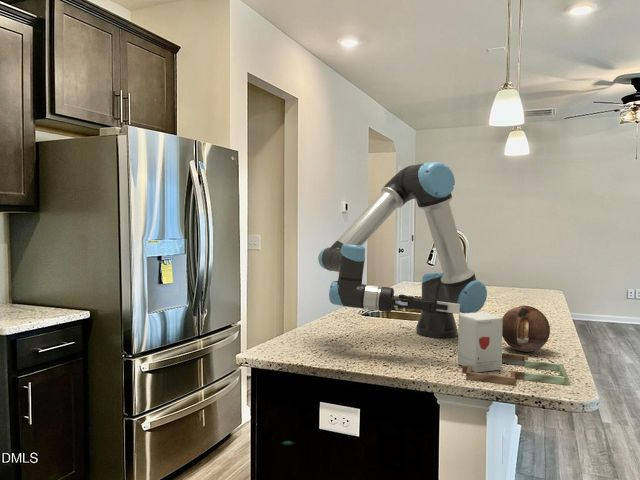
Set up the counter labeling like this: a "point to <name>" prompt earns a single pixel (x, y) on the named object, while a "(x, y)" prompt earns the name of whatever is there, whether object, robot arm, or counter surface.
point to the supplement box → (480, 341)
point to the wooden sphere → (525, 328)
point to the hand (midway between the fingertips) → (459, 308)
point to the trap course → (520, 361)
